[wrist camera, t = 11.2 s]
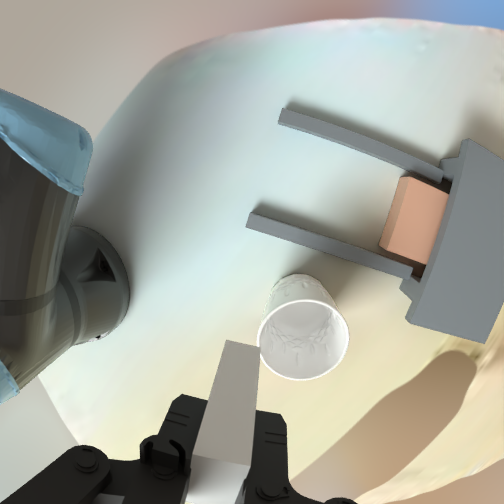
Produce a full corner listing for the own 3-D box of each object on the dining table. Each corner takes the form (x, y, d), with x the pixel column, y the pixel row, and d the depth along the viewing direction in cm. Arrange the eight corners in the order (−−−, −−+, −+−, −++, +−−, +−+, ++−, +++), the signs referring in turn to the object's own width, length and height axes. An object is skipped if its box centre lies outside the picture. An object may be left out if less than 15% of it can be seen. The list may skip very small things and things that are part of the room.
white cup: (274, 259, 35) (271, 287, 25) (342, 278, 35) (363, 312, 25) (255, 323, 37) (246, 368, 27) (319, 339, 36) (330, 388, 27)
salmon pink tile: (378, 245, 33) (386, 250, 31) (399, 177, 32) (410, 176, 29) (468, 279, 33) (480, 286, 30) (488, 219, 31) (501, 222, 28)
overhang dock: (237, 255, 35) (229, 268, 30) (291, 83, 31) (292, 64, 25) (463, 325, 34) (484, 343, 29) (511, 183, 30) (538, 185, 24)
